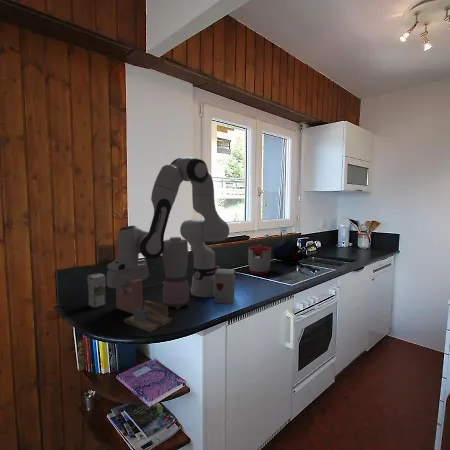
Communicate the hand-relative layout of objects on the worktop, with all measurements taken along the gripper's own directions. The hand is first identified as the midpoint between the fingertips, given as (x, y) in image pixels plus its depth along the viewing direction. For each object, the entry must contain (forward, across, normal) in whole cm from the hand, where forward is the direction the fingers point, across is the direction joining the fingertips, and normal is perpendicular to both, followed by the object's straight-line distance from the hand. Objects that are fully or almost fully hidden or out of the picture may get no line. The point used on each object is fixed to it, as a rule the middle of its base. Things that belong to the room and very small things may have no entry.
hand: (129, 292), depth 135 cm
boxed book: (+8, 0, 0) cm, 8 cm away
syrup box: (+8, +5, -17) cm, 19 cm away
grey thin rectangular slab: (+6, +8, +17) cm, 20 cm away
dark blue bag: (+8, -130, +24) cm, 133 cm away
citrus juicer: (+8, -92, +17) cm, 94 cm away
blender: (+8, -17, +11) cm, 22 cm away
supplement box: (+8, -35, +28) cm, 46 cm away
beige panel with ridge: (+8, +4, +17) cm, 19 cm away
